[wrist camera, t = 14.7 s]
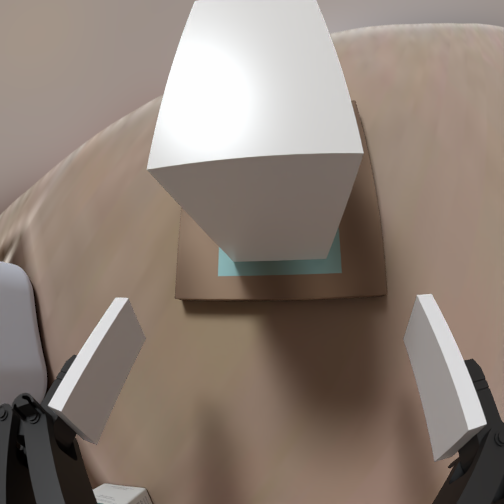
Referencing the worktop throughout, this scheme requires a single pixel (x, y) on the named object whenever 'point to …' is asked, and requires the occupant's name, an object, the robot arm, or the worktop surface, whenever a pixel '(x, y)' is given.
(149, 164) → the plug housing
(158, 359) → the worktop surface
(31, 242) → the worktop surface
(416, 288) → the worktop surface
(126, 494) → the ink box
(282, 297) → the dock board
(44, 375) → the plastic bottle
